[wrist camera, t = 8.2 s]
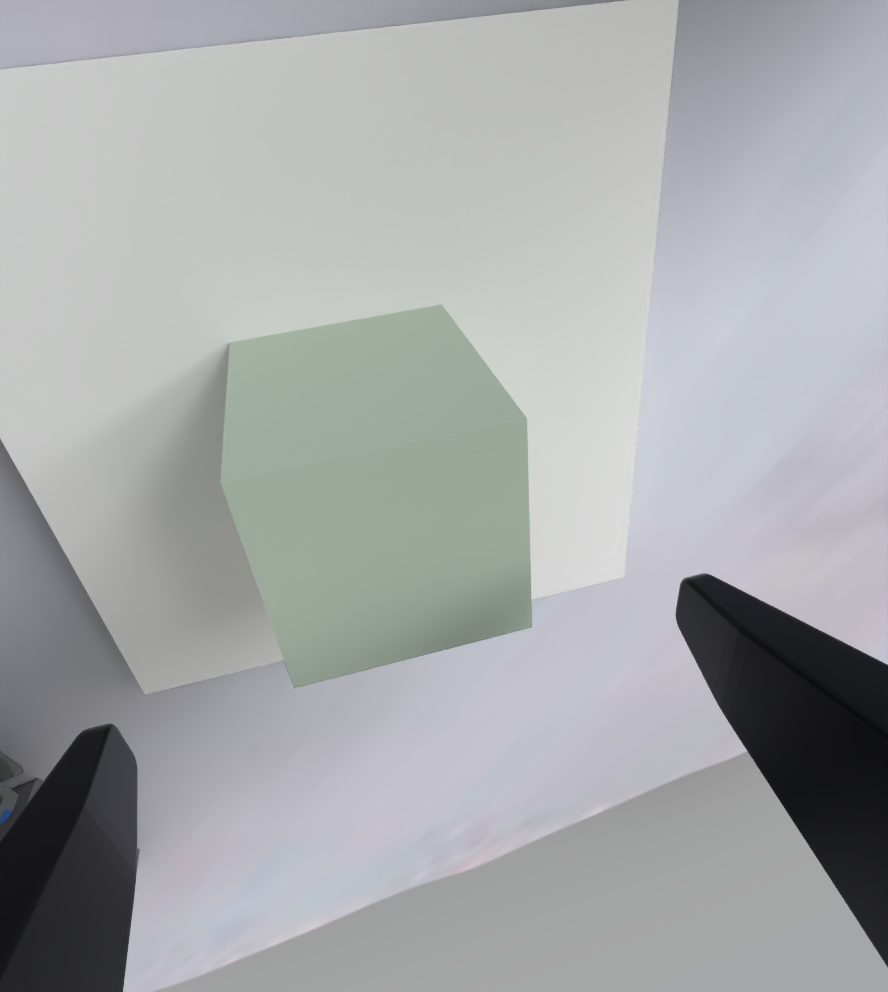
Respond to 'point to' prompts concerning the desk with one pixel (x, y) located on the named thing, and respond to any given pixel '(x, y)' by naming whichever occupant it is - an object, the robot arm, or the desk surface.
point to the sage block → (377, 491)
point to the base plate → (320, 278)
